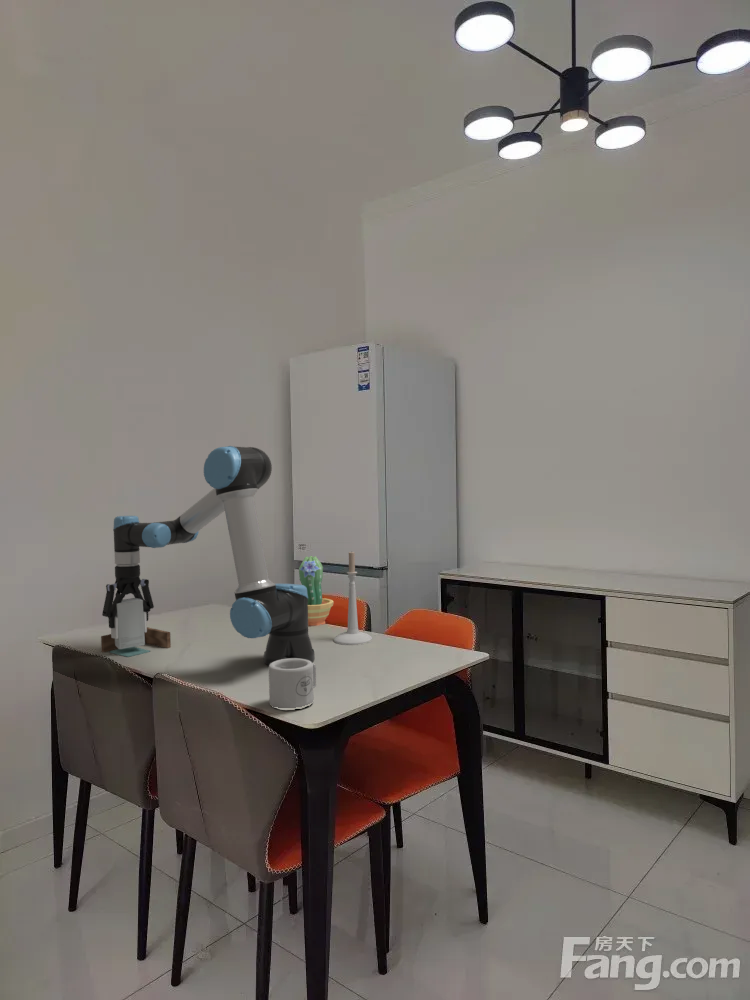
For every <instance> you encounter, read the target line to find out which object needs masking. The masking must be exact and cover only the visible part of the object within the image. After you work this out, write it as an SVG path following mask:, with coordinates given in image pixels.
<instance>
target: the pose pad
mask: <svg viewBox="0 0 750 1000" xmlns="http://www.w3.org/2000/svg"><path fill="white" fill-rule="evenodd" d="M150 652H151V650H148V649H146V648H145V649H144V648H141V647H138V646H136V647H130V648H125V649H115V650H111V651H109V653H110V654H115V655H119V656H121V657H125V658H129V657H134V656H135V657H136V656H139V655H142V654H146V653H150Z"/></svg>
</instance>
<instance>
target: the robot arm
mask: <svg viewBox="0 0 750 1000" xmlns="http://www.w3.org/2000/svg"><path fill="white" fill-rule="evenodd" d="M272 465H273V464H272V461H271V459H270V457H269V456H268V454H267V453H266V452H265V451H263V450H262V449H261V448H258V447H253V446H252V447H251V446H247V447H245V446H235V445H228V446H219V447H217V448H215V449H213V450H212V451H211V452H209V454H208V456H207V458H205V461H204V463H203V476H204V480H205V482H206V483H207V484H208V485H209V486H210V487H211V488H213V489H212V490H210V491H209V492H208V493H207V494H205V495H204V496H203V497H202V498H201V499H199V500H197V502H195V503H194V504H193V505H192V506H190V507H189V508H188V509H187V510H185V512H183V513H181V515H179V516H178V517H177V518H176V519H173V520H167V521H166V520H165V521H157V522H155V521H154V522H140V520H139V516H138V515H119V516H115V517H114V518H113V528H112V530H113V547H114V548H113V549H114V564H115V566H114V576H115V577H114V578H115V582H114V583H111V584H110V583H109V584H108V583H107V584H106V586H105V589H106V590H105V591H106V594H105V598H104V603H103V609H102V614H101V616H103V617H105V618H108V628H109V629H110V634H111V638H115V639H118V618H117V617H115V616H116V614H117V604H118V603H121V602H122V600H123V599H124V598H125V597H126V596H127V595H130V594H132V595H133V598H138V599H141V600H143V616H144V632H147V627H148V626H147V625H148V621H149V613H150V611H151V610H152V609H154V607H155V605H154V602H153V598H152V594H151V591H150V587H149V586H150V580H149V579H146V578H142V579H141V578H140V576H141V565H140V563H141V558H140V557H141V555H140V553H141V551H140V548H141V547H142V548H152V549H158V548H159V549H160V548H164V547H166V546H168V545H170V546H171V545H176V544H187V543H189V542H193V541H195V540H196V539H197V537H198V535H199V532H200V531H201V530H202V529H203V528H204V527H206V526H207V525H208V524H209V523H211V522H213V520H215V519H217V518H218V517H219V516H220V515H221V514H222V513H224V512H225V517H226V523H227V529H228V535H229V541H230V545H231V551H232V555H233V557H232V558H233V561H234V567H235V573H236V578H237V582H238V583H237V585H238V586H237V587H236V589H235V591H234V596H235V597H234V598H235V600H234V602H233V603H232V605H231V607H230V609H229V618H230V622H231V625H232V627H233V628H234V630H235V631H236V632H237V633H239V634H240V635H241V636H242V637H244V638H247V639H258V638H263V637H266V636H268V639H267V643H266V646H265V651H264V653H263V663H264V664H266V665H267V666H269V665H270V664H271V663H272V662H274V661H277V660H281V659H288V658H300V659H306V660H309V661H311V662H312V663H314V661H315V658H316V657H315V650H314V648H313V645H312V641H311V638H310V634H309V626H308V594H307V588H306V587H305V586H304V585H302V584H296V583H275V582H273V581H272V580H271V579H270V578H269V572H268V571H269V570H268V567H267V566H268V565H267V562H266V561H267V560H266V558H265V557H266V556H265V550H264V545H263V541H262V539H263V538H262V535H261V531H260V530H261V529H260V525H259V519H258V514H257V507H256V503H255V497H254V496H255V495H256V493H257V492H258V490H259V489H260V488H262V487H263V486H264V485H265V484H266V483H267V482H268V481H269V480H270V478H271V476H272V475H271V474H272V469H273V466H272ZM139 587H141V590H140V588H139ZM115 591H116V592H115ZM141 591H142V592H141Z"/></svg>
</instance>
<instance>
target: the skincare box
mask: <svg viewBox="0 0 750 1000" xmlns="http://www.w3.org/2000/svg"><path fill="white" fill-rule="evenodd" d="M115 617H117V618H118V639H115V646H116V647H117V648H118V649H125V648H130V647H141V646H145V645H146V643H145V636H144V616H143V600H141V599H138V598H135V597H131V598H125V599H124V598H123V600H122V602H121V603H118V604H117V614H116V616H115ZM118 649H117V650H118Z"/></svg>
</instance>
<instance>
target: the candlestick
mask: <svg viewBox="0 0 750 1000" xmlns="http://www.w3.org/2000/svg"><path fill="white" fill-rule="evenodd" d="M355 553H356V552H355V551H349V552H348V571H347V572H346V574H347V575H348V576H347V578H348V581H349V583H348V609H347V629H346V630H347V631H344V632H341V633H339V634H337V635H336V636H335V637H334V638H333V642H334V643H335V644H337V643H338V644H339V645H345V646H359V645H358V644H361V645H364V644H363V643H366V642H368V641H370V640H371V639H372V640H373V638H372V636H371V635H370V634H368V633H366V632H362V631H359V624H358V609H357V591H356V582H355V580H356V578H357V574H358V571H356V566H355V565H356V559H355V558H356V557H355V555H356V554H355ZM366 644H367V643H366Z"/></svg>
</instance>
